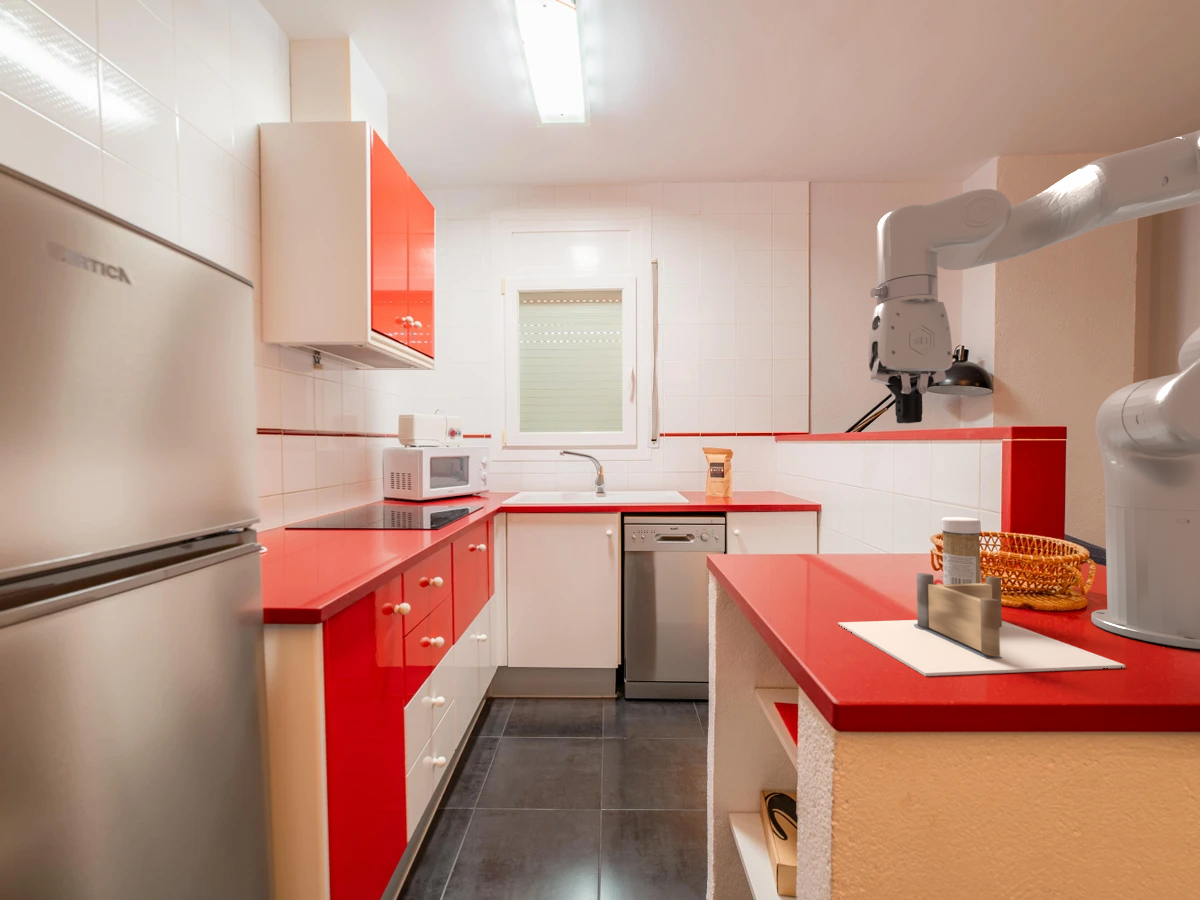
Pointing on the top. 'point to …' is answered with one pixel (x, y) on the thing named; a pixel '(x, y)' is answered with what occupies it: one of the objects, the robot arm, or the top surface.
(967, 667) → the board
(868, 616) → the top surface
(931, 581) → the fixed fence
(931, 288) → the robot arm
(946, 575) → the sprinkles bottle
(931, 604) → the fence panel
